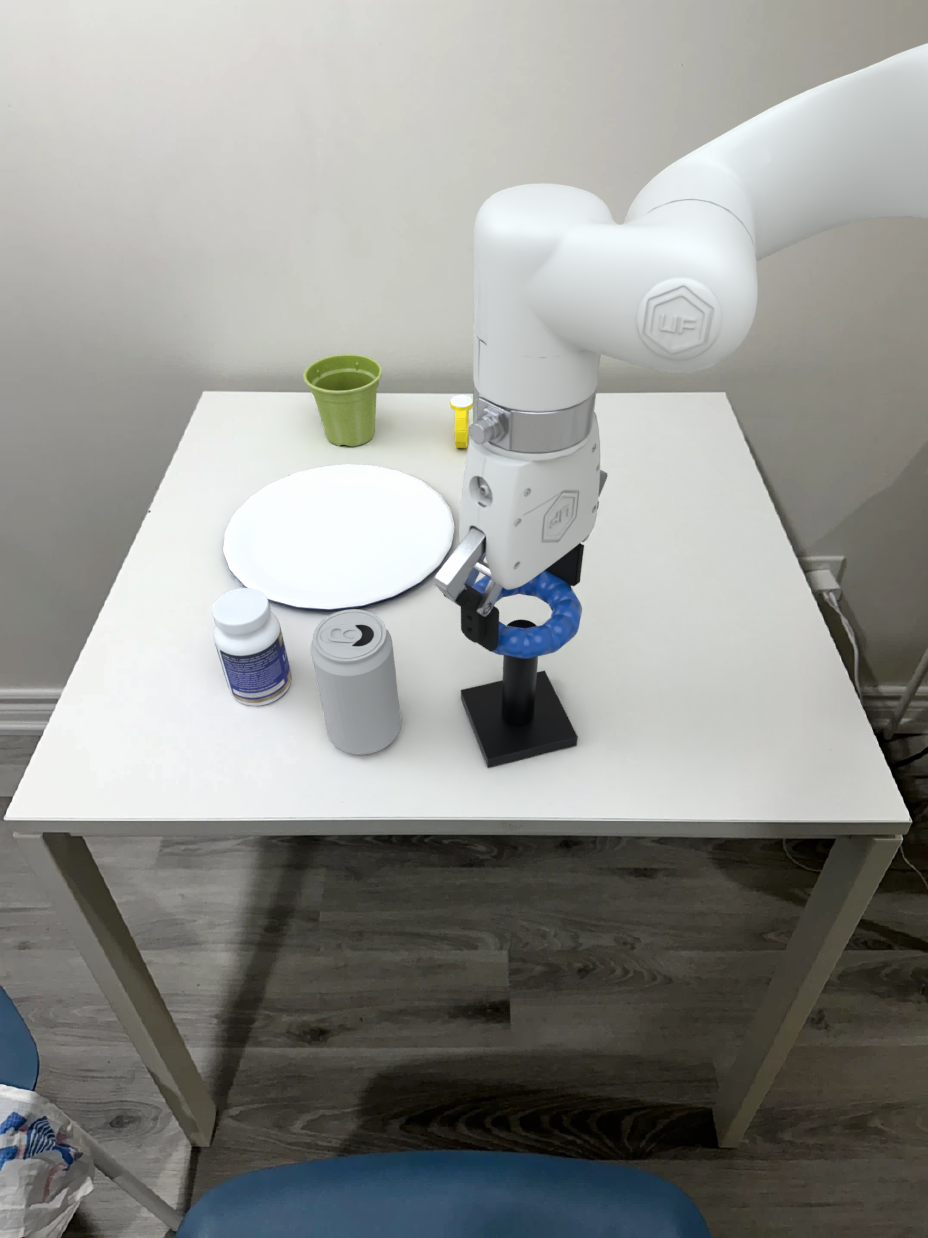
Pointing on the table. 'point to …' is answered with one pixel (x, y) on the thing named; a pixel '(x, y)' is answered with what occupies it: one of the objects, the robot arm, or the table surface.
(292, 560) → the plate
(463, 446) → the watch
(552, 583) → the ring
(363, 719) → the beverage can
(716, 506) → the table surface
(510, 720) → the peg stand
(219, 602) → the pill bottle
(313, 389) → the plant pot
